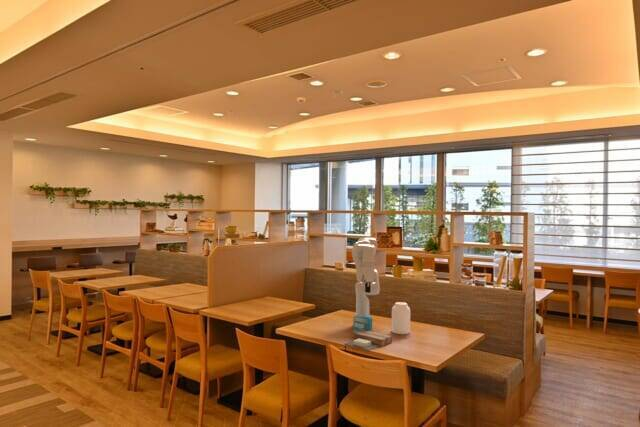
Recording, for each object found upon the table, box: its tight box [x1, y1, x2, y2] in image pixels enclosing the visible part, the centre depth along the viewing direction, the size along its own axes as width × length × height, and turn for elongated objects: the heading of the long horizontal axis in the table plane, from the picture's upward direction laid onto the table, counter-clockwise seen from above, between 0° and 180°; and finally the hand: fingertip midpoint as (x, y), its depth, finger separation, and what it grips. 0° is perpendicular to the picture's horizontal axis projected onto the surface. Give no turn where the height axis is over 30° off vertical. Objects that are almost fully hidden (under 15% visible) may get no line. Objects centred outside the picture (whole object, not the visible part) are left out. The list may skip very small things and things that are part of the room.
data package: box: [352, 314, 373, 334], centre depth 291 cm, size 12×4×12 cm, turn 60°
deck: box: [354, 330, 393, 347], centre depth 275 cm, size 12×20×4 cm, turn 49°
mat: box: [344, 340, 381, 351], centre depth 266 cm, size 12×18×1 cm, turn 49°
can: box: [390, 301, 411, 335], centre depth 297 cm, size 12×12×20 cm
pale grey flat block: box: [352, 338, 371, 348], centre depth 266 cm, size 6×9×2 cm, turn 50°
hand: (367, 292), depth 286 cm, fingers closed
